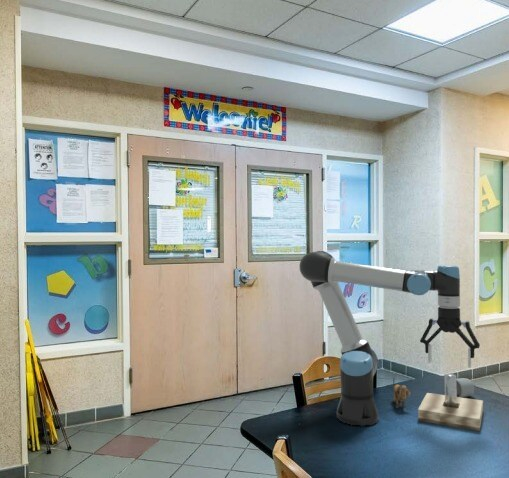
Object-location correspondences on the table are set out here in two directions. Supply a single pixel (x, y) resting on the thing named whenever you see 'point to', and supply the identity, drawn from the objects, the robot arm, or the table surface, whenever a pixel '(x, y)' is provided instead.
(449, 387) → the metal peg
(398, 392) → the lion figurine
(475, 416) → the maple block
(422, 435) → the table surface
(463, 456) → the table surface
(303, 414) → the table surface
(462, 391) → the ceramic mug
